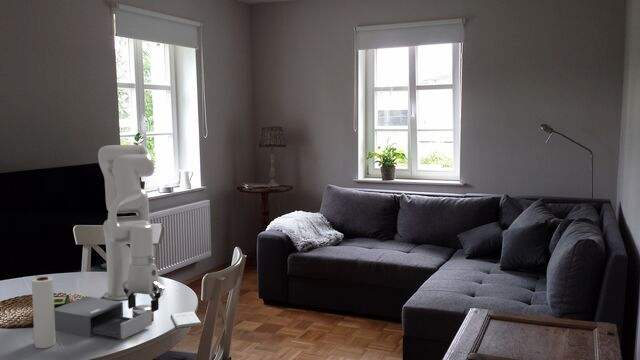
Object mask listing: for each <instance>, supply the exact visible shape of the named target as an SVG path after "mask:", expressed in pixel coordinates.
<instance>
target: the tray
mask: <svg viewBox="0 0 640 360" xmlns="http://www.w3.org/2000/svg"><path fill="white" fill-rule="evenodd" d="M152 324H153V322H152V311H147V312H145V313H143V314H141V315H138V316H136V317H134V318H132V317H126V316H123V317H121V316H120V317H113V316H111V317H109V318H107V319H105V320H102V321H100V322H98V323H96V324H93V325H91V333H96V335H103V336H106V337H107V336H108V337H113V338H119V339H122V340H125V339H126V338H128V337H130V336H132V335H134V334H136V333H139V332H140V331H142V330H145V329H146V328H148V327H150V326H152Z"/></svg>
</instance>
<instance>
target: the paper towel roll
mask: <svg viewBox="0 0 640 360" xmlns="http://www.w3.org/2000/svg"><path fill="white" fill-rule="evenodd" d="M31 292H32V293H31V294H32V314H33V315H32V316H33V317H32V318H33V338H34V347H35V348H36V349H49V348H51V347H53V346H56V344H57V342H56V341H57V340H56V331H55V312H54V309H55V293H54V292H55V290H54V277H53V276H45V275H44V276H43V275H42V276H40V275H39V276H38V275H35V277H34V278H32V279H31Z"/></svg>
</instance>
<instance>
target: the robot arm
mask: <svg viewBox="0 0 640 360" xmlns="http://www.w3.org/2000/svg"><path fill="white" fill-rule="evenodd" d="M97 158H98V165H99V167H100V170H101V172H102V175H103V179H104V190H105V204H106V205H105V206H106V210H107V211H108V213H107V219H106V220H104V222H103V225H102V228H103V230H102V231H103V235H104V242H105V249H106V250H105V251H106V252H105V253H106V277H107V279H106V280H107V281H106V283H107V291H105V292H104V293H103V299H106V300H112V301H123V300H127V308H128V309H131V310H132V308H133V307H135V306H137V299H136V298H137V297H136V296H138V295H137V294H140V295H148V296H149V297H150V298H151V300H150V305H151V311H152V312H154V313H155V312H156V311H158V310H159V309H160V308H159V307H160V304H159V303H160V302H159V299H161V297H163V294H164V291H165V290H166V289H165V286H164V285H162V284H160V282H159V281H160V280H159V274H158V269H157V265H156V258H155V257H154V241H153V240H154V237H153V236H154V235H153V233H154V231H153V227H152V224H151V223H150V222H151V221H150V204H149V196H148V192H147V191H146V190H145V189H143V188H142V187H141V179H140V178H143V177H144V178H145V177H146V178H147V177H151V176H153V175H154V171H155V164H154V160H153V158H152V155H151V153H150V152H149V151H148V150H147V148H146V147H145V146H144V145H141V144H113V145H112V144H111V145H105V146H102V147H100V148H99V150H98V152H97ZM128 213H130V214H131V213H135V214H136V215H129V216H127V215H126V216H123V215H122V216H118V215H117V214H128ZM127 244H129V245H127Z"/></svg>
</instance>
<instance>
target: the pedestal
mask: <svg viewBox="0 0 640 360" xmlns="http://www.w3.org/2000/svg"><path fill="white" fill-rule="evenodd" d="M154 313H155V311H154V312H153V314H152V323H154V322H155V317H154V316H155V314H154ZM131 316H132V317H131V318H134V317H136V316H134V315H133V314H132V315H131ZM153 321H154V322H153Z"/></svg>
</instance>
